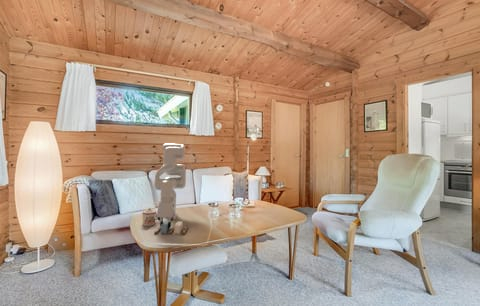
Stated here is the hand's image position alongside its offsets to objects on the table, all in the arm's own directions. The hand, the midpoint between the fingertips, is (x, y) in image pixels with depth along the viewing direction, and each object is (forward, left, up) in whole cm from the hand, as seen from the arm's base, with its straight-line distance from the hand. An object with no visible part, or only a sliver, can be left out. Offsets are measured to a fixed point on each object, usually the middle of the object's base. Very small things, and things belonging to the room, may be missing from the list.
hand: (165, 227), depth 154 cm
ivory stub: (0, +8, -2) cm, 9 cm away
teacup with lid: (-17, -15, -3) cm, 23 cm away
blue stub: (0, 0, -2) cm, 2 cm away
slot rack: (0, +4, -3) cm, 5 cm away
